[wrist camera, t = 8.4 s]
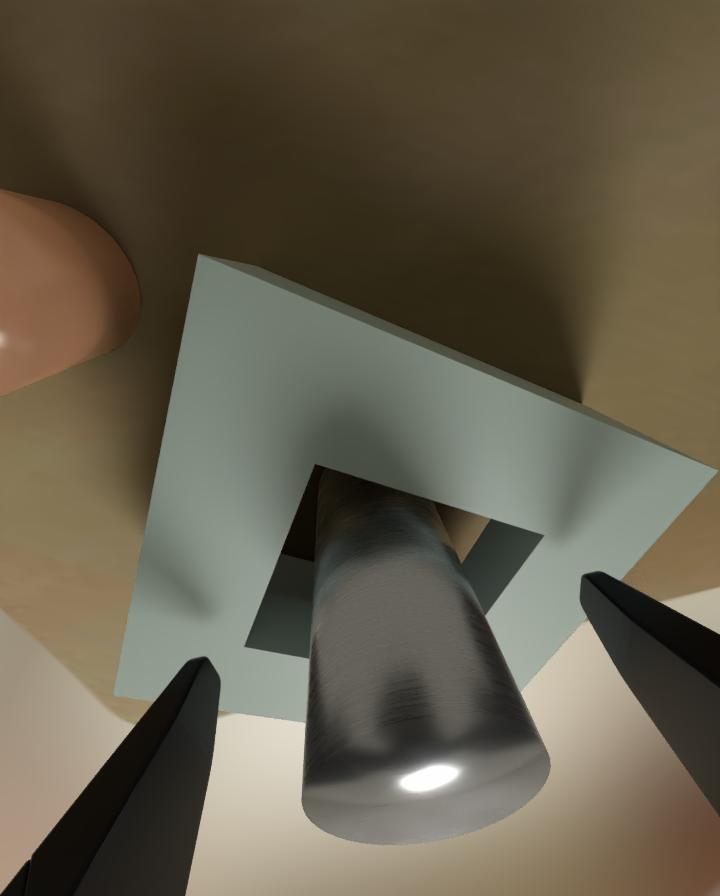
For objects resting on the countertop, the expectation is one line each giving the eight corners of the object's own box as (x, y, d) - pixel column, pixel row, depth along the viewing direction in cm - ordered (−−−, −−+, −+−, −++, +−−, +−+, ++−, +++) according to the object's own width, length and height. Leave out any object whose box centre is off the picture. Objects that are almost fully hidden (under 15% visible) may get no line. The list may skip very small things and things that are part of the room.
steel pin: (413, 432, 13) (553, 693, 5) (427, 519, 15) (548, 818, 7) (305, 456, 13) (266, 753, 5) (332, 540, 15) (335, 861, 7)
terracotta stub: (55, 164, 9) (-160, 82, 5) (170, 311, 11) (81, 339, 7) (-56, 252, 9) (-329, 244, 6) (71, 379, 11) (-66, 441, 7)
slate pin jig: (583, 404, 13) (718, 470, 8) (434, 625, 17) (471, 746, 13) (256, 265, 10) (198, 253, 6) (179, 568, 15) (113, 695, 10)
